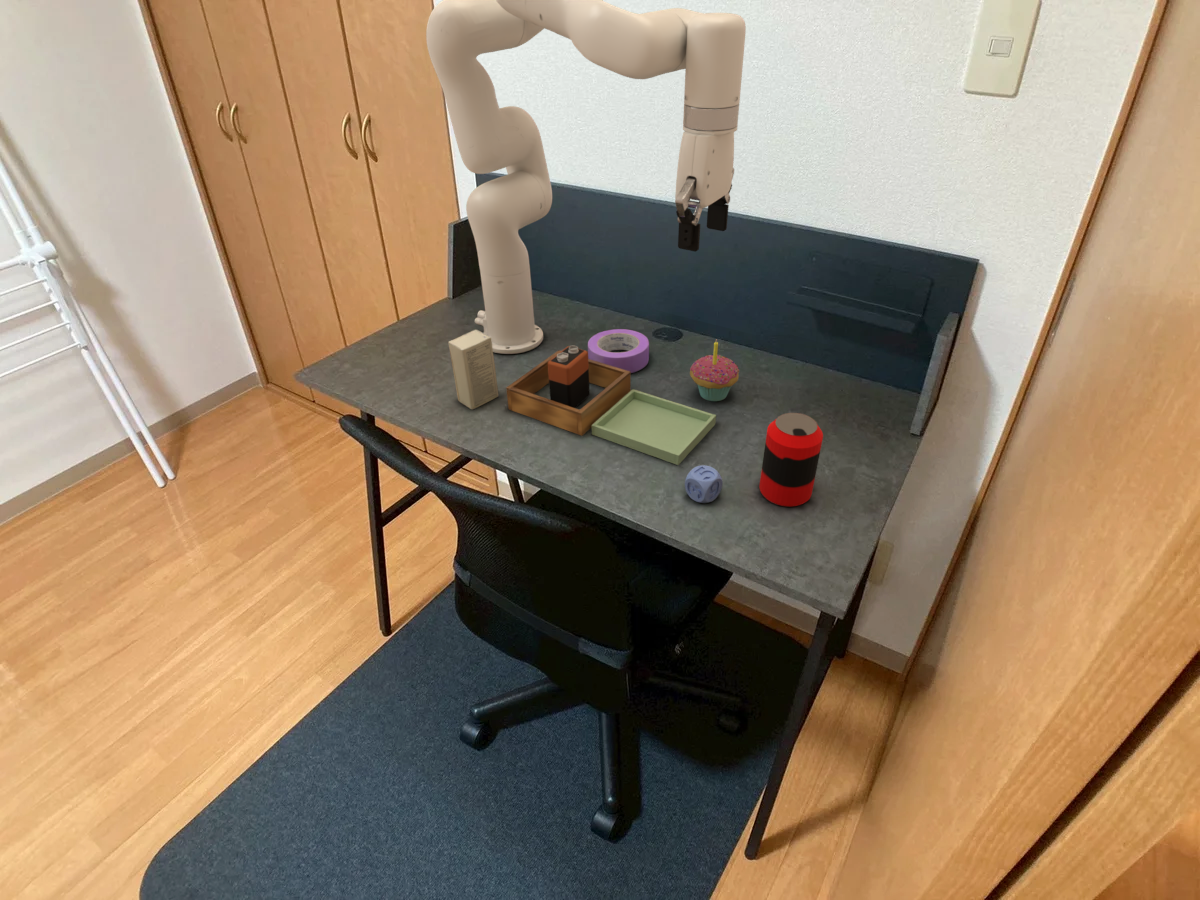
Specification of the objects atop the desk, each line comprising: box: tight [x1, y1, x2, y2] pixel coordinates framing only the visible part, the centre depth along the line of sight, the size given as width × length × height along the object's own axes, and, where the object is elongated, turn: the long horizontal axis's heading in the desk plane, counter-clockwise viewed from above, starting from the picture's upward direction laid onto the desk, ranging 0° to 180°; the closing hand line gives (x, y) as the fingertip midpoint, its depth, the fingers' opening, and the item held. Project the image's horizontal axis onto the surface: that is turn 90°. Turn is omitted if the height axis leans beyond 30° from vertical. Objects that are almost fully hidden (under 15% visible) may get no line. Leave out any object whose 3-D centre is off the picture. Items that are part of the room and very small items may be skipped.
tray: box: [591, 388, 717, 466], centre depth 120 cm, size 16×13×2 cm
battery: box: [548, 345, 590, 409], centre depth 125 cm, size 4×7×10 cm, turn 150°
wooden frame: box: [505, 349, 632, 437], centre depth 126 cm, size 16×16×4 cm
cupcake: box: [689, 338, 740, 402], centre depth 125 cm, size 9×8×12 cm
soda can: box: [758, 412, 824, 508], centre depth 103 cm, size 8×8×12 cm
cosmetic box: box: [447, 329, 500, 410], centre depth 125 cm, size 6×4×12 cm
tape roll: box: [587, 328, 650, 374], centre depth 138 cm, size 12×12×4 cm
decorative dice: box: [684, 464, 723, 504], centre depth 105 cm, size 4×4×4 cm
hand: (702, 239), depth 110 cm, fingers open, 9 cm apart
